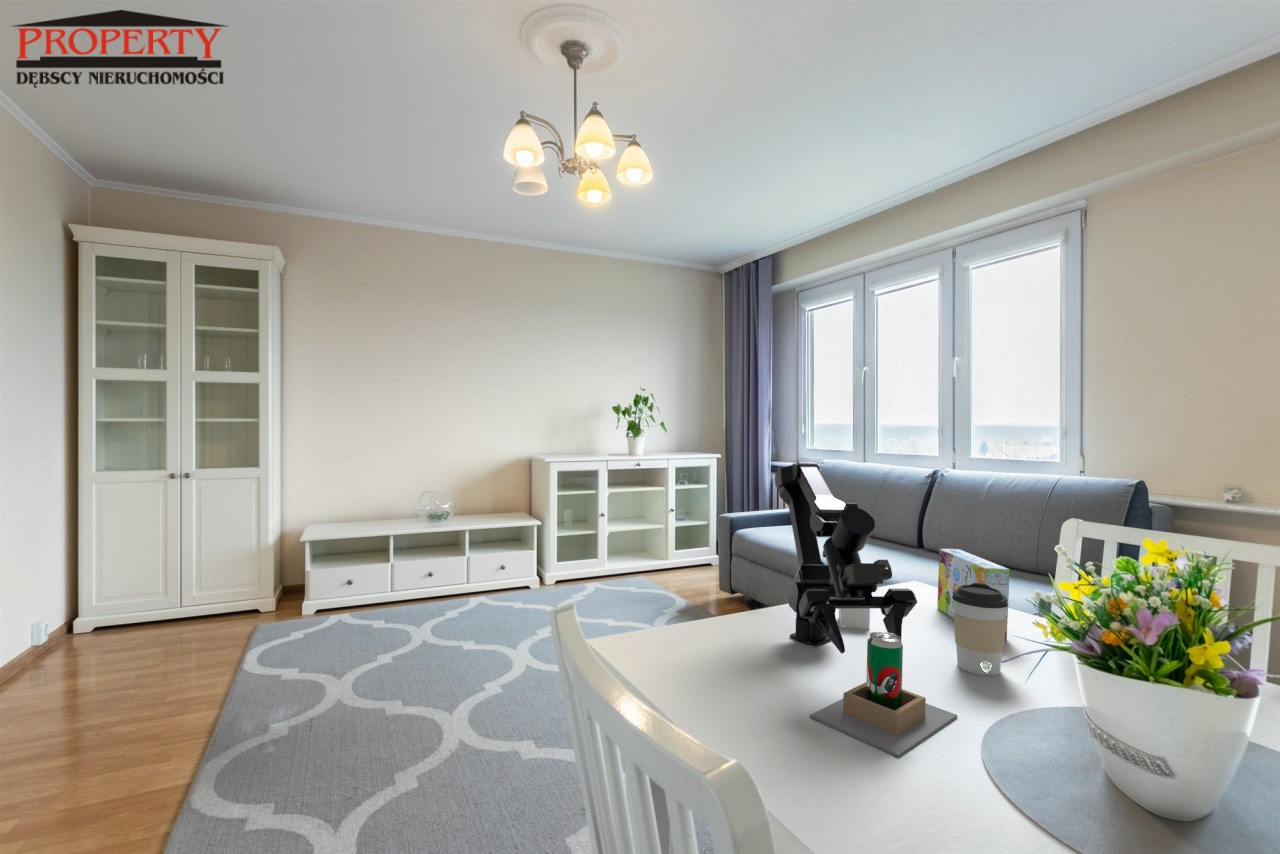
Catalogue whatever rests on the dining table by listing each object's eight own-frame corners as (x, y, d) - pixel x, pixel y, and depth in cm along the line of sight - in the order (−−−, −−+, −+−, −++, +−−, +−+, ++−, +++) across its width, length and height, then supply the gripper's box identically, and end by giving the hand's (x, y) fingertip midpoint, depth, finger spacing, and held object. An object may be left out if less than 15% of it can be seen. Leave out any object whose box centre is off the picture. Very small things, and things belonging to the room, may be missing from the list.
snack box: (1010, 640, 127) (1011, 568, 127) (983, 639, 127) (984, 568, 127) (958, 608, 148) (959, 547, 148) (935, 608, 148) (936, 547, 148)
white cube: (838, 618, 140) (838, 592, 140) (865, 621, 138) (866, 594, 138) (840, 627, 134) (841, 600, 134) (869, 629, 132) (869, 602, 132)
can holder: (872, 685, 104) (872, 666, 103) (957, 717, 93) (957, 695, 93) (810, 717, 92) (810, 695, 92) (898, 757, 81) (898, 732, 81)
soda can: (907, 716, 92) (909, 637, 92) (889, 725, 89) (891, 644, 89) (877, 703, 96) (879, 628, 96) (859, 711, 93) (860, 634, 93)
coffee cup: (1006, 682, 106) (1007, 597, 106) (948, 670, 110) (950, 589, 110) (1007, 665, 113) (1008, 585, 113) (953, 654, 118) (954, 578, 118)
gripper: (805, 541, 102) (828, 630, 91) (913, 541, 103) (948, 629, 92) (790, 575, 110) (809, 660, 99) (890, 575, 111) (920, 659, 100)
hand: (871, 652), depth 97 cm, fingers open, 9 cm apart
